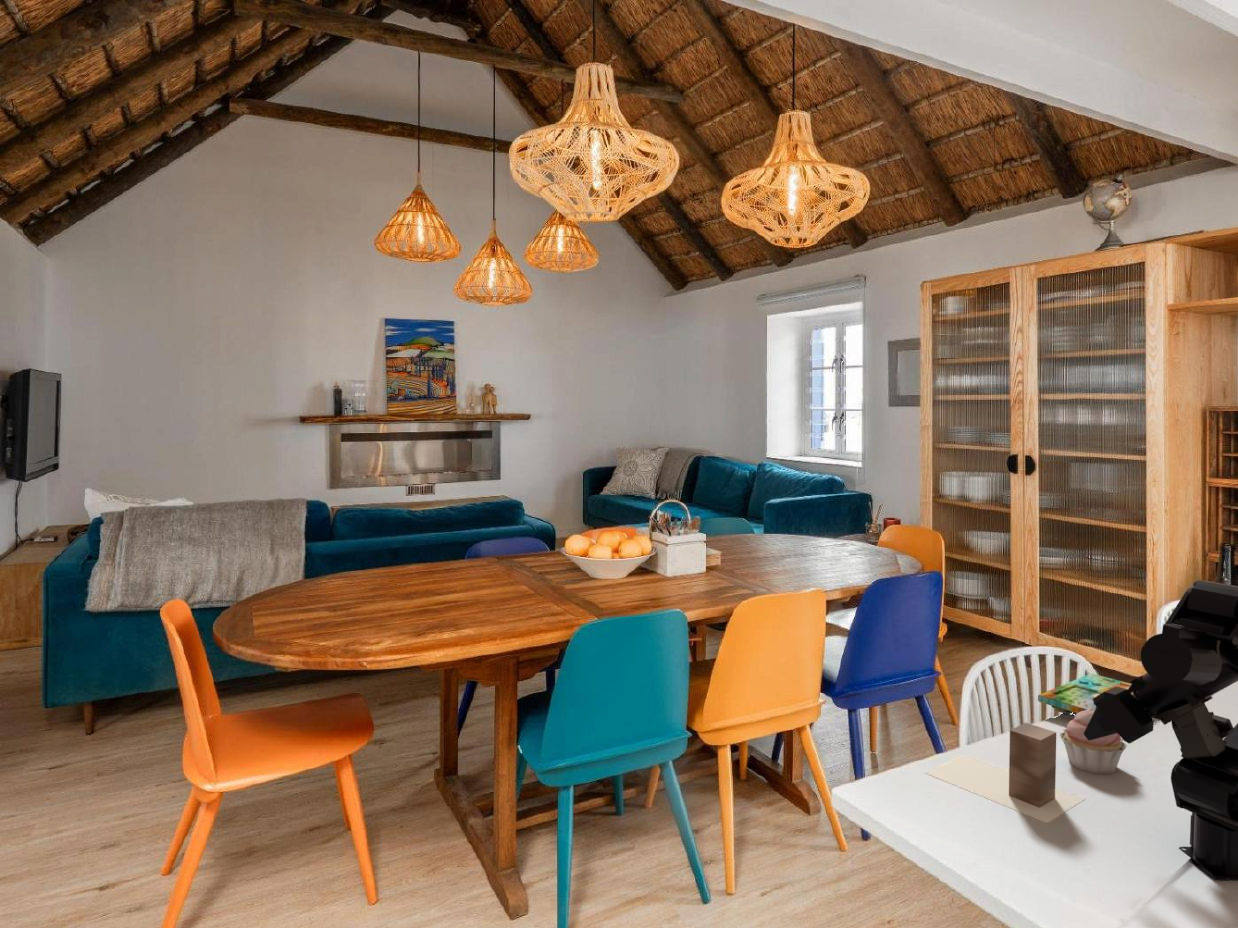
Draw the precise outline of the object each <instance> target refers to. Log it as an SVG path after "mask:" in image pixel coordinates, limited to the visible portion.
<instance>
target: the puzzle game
mask: <svg viewBox="0 0 1238 928" xmlns="http://www.w3.org/2000/svg"><path fill="white" fill-rule="evenodd" d="M1131 685H1132V684H1131V682H1129V683H1128V682H1125V681H1122V680H1118V679H1114V678H1110V677H1106V676H1104V675H1103V676H1101V675H1098V674H1094V673H1088V674H1086V675H1084V676H1081V677H1079V678H1077V679H1074V680H1071V681H1069V682H1066V683H1065V684H1062V685H1060V686H1057V687H1055V688H1053V689H1051V690H1047V691H1044V692H1043V693H1040V694H1038V696H1037V702H1039V703H1042V704H1045V705H1048V706H1051V708H1052V709H1053V710H1054V711H1056V712H1059V713H1062V714H1065V715H1068V714H1070V713H1072V712H1073V714H1075V715H1076V714H1077V713H1079V712H1082V711H1085V710H1088V709H1090V708H1091V707H1094V708H1096V706H1095V704H1094V702H1093V698H1095V697H1097V696H1098V695H1100V694H1101V693H1103V692H1105V691H1107V690H1109V689H1111V688H1114V687H1116V686H1117V687H1120V688H1124V689H1127V690H1128V689H1129V687H1130V686H1131ZM1073 714H1072V715H1073Z"/></svg>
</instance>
